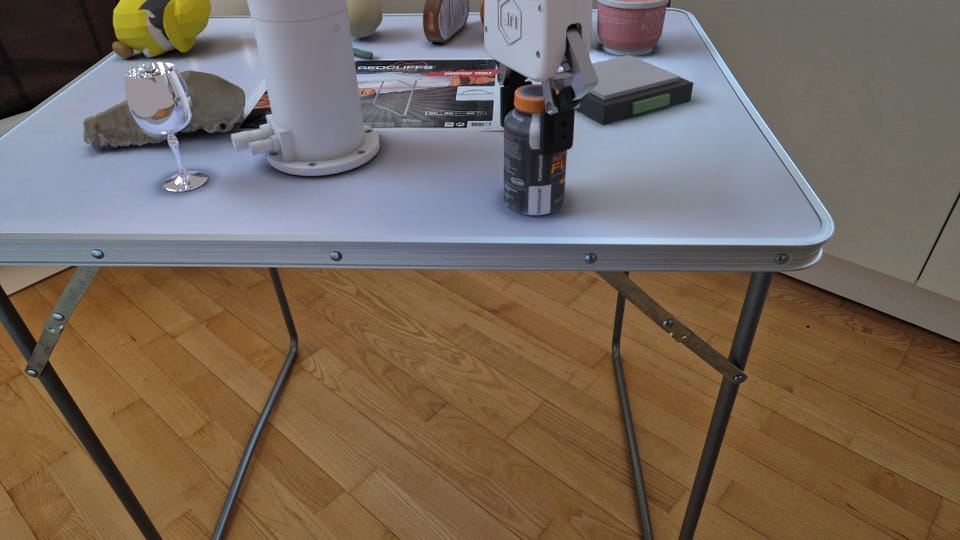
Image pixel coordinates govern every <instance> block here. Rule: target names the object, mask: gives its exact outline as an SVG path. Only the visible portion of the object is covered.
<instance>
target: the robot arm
mask: <svg viewBox="0 0 960 540" xmlns="http://www.w3.org/2000/svg"><path fill="white" fill-rule="evenodd" d="M246 3H247V7H248V11H249V15H250V17H251V18H250V19H251V24H252V28H253V32H254V37H255V41H256V45H257V50H258V56H259V59H260V64H261V67H262V68H261V69H262V74H263V79H264V83H265V87H266V92H267V96H268V101H269V106H270V111H271V113H269V114H265V119H266V122H267V123H263V124H260V125H259V128H257V129H253V130H244V131H243V130H242V131H240V132H235V133H231V134H230V139H231V142H232V145H233V148H234V150H235V151H234V152H235V153H237V152H241V151H246V150H249V152H250V154H251V156H257V155H261V154H264V153H265V155H266V158H267V162H268V163H269V165H270V166H271V167H273V168H274V169H276V170H277V171H279V172H282V173H285V174H288V175H295V176H301V177H321V176H329V175H335V174H339V173H343V172H344V173H345V172H348V171H351V170H353V169H356V168H359V167H360V166H363V165H364V164H366V163H368V162H369V161H371V160H372V159H373V158H374V157H375V156H376V155H377V154H378V152H379V150H380V147H381V143H380V136H379V134H378V132H377V131H376V130H375V129H374V128H373V127H371V126H369V125H367V124H364V120H363V112H362V107H361V106H362V105H361V97H360V91H359V84H358V75H357V68H356V61H355V55H354V53H353V48H354V47H353V37H352V36H351V31H350V23H349V16H348V9H347V2H346V0H246ZM592 26H593V0H485V2H484V27H483V44H484V45H483V46H484V50H485V52H486V53H487V55H488V56H489V57H491V58H492V59H493V61H494V62H495V65H496V68H497V74H496V81H497V83H498V85H499V86H500V87H499V121H500V122H499V124H500V127H501V128H502V129H504V120H505V117H506V116H507V114H508V113H509V112H510V111H511V110H513V109H515V105H514V100H515V91H516V90H517V89H518V88H519V87H522V86H525V85H531V84H533V82H537V83H540V84H542V90H543V95H544V101H545V107H546V110H545V111H541V121H540V153H541V154H543V155H544V156H548V155H551V154H554V153H558V152H561V151H565V150H567V151H568V150H570V149H572V148H573V146H574V135H575V134H574V133H575V132H574V131H575V117H576V110H575V108H578V107H579V106H580V102H581V101H582V100H583V99H584V98H585V97H586V95H587V94H588V93H589V92H590V91H591V90H592V89H593V88H594V87H595V86H596V85H597V84H598V78H597V75H596V72H595V70H594V67H593V65H592V63H593V62H592V60H591V58H590V54H591V45H592V29H593V27H592ZM560 67H561V68H562V70H563V71H562V70H561V71H562V72H558V71H560V70H559V69H560ZM557 72H558V73H557ZM528 79H529V80H528ZM562 79H563V80H564V86H565V87H564V88H563V89H562V90H561V91H560V92H559V93H558V94H556V89H555V83H554V81H558V80H562Z"/></svg>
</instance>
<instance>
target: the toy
mask: <svg viewBox="0 0 960 540" xmlns="http://www.w3.org/2000/svg"><path fill="white" fill-rule="evenodd" d="M211 5H212V4H211V0H119V1H118V3H117V5H116V6H115V8H114V9H113V12H112V13H113V15H112V26H113V28H114V35H115V37H116V39H117V41H113V42H112V45H111V47H112V50H113V52H114V53H115V55H117V56H118V57H120V58H123V59H129V58H132V57H133V56H134V55H135V52H134V51H138V52H142V54H143V55H144V56H145V57H146V58H153V57H156V56H159V55H160V56H161V55H162V54H165V53H166V52H171V51H174V50H177V51H179V52H181V53H188V52H189V51H190V50H192V49H193V46H194V44H195V43H196V38H197V37H198V36H199V35H200V34H201V33H202V32H203V31H204V30H205V29H206V28H207V27H208V24H209V20H210V15H211V12H212V6H211Z"/></svg>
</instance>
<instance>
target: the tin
mask: <svg viewBox="0 0 960 540" xmlns="http://www.w3.org/2000/svg"><path fill="white" fill-rule="evenodd" d="M422 12H423V13H422V28H423V29H422V30H423V34H424V37H425V39H426V40H427V42H435V43H441V44H442V43H446V42H448V41H449V40H450V39H452V38H453V37H454V36H456V35H457V34H458V33H460V32H461V31H462V30H463V29H464V28H465V25H466V24H467V21H468V19H469V14H470V0H424V3H423V9H422Z"/></svg>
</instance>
